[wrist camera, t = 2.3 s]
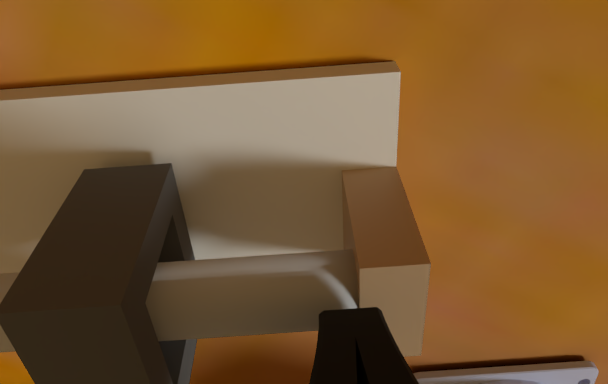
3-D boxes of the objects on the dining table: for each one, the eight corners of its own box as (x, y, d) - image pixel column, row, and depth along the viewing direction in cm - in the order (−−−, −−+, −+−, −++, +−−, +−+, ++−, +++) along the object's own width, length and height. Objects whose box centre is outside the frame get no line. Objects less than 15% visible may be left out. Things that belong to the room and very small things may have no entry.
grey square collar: (171, 163, 14) (121, 305, 9) (204, 297, 17) (177, 453, 12) (83, 169, 14) (-7, 314, 9) (132, 302, 17) (79, 459, 12)
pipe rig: (395, 61, 14) (444, 154, 10) (385, 294, 19) (414, 422, 15) (-398, 118, 14) (-692, 234, 10) (-197, 334, 19) (-333, 472, 15)
